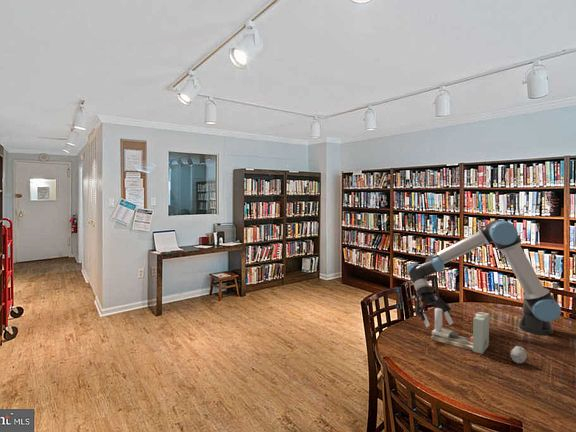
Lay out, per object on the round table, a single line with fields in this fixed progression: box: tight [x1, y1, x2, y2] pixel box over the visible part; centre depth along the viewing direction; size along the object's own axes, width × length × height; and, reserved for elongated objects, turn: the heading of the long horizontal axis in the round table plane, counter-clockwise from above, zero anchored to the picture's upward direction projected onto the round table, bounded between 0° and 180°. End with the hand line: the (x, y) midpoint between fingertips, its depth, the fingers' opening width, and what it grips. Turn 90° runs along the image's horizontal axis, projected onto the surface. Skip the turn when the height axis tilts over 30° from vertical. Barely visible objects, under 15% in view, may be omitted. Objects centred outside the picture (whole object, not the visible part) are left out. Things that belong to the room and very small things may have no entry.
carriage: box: [431, 307, 459, 338], centre depth 177 cm, size 11×8×12 cm
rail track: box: [430, 333, 473, 351], centre depth 174 cm, size 20×10×2 cm, turn 47°
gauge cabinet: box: [472, 311, 490, 354], centre depth 166 cm, size 5×12×17 cm, turn 137°
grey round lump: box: [509, 345, 528, 365], centre depth 152 cm, size 6×7×7 cm
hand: (439, 325), depth 178 cm, fingers open, 13 cm apart
